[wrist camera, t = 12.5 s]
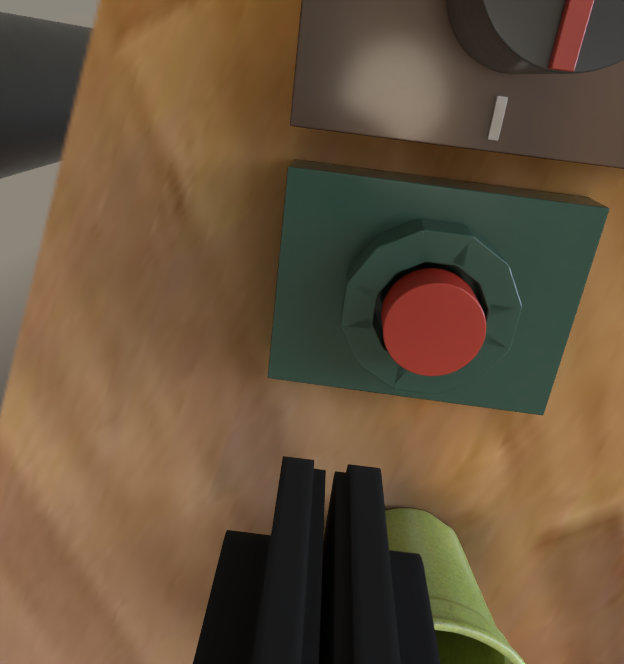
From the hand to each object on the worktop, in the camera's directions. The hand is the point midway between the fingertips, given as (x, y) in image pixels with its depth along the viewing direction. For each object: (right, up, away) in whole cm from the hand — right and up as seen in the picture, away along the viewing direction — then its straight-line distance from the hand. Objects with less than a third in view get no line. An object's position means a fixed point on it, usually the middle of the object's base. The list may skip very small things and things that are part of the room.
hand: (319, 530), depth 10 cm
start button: (+4, +4, +12) cm, 14 cm away
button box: (+5, +6, +15) cm, 17 cm away
